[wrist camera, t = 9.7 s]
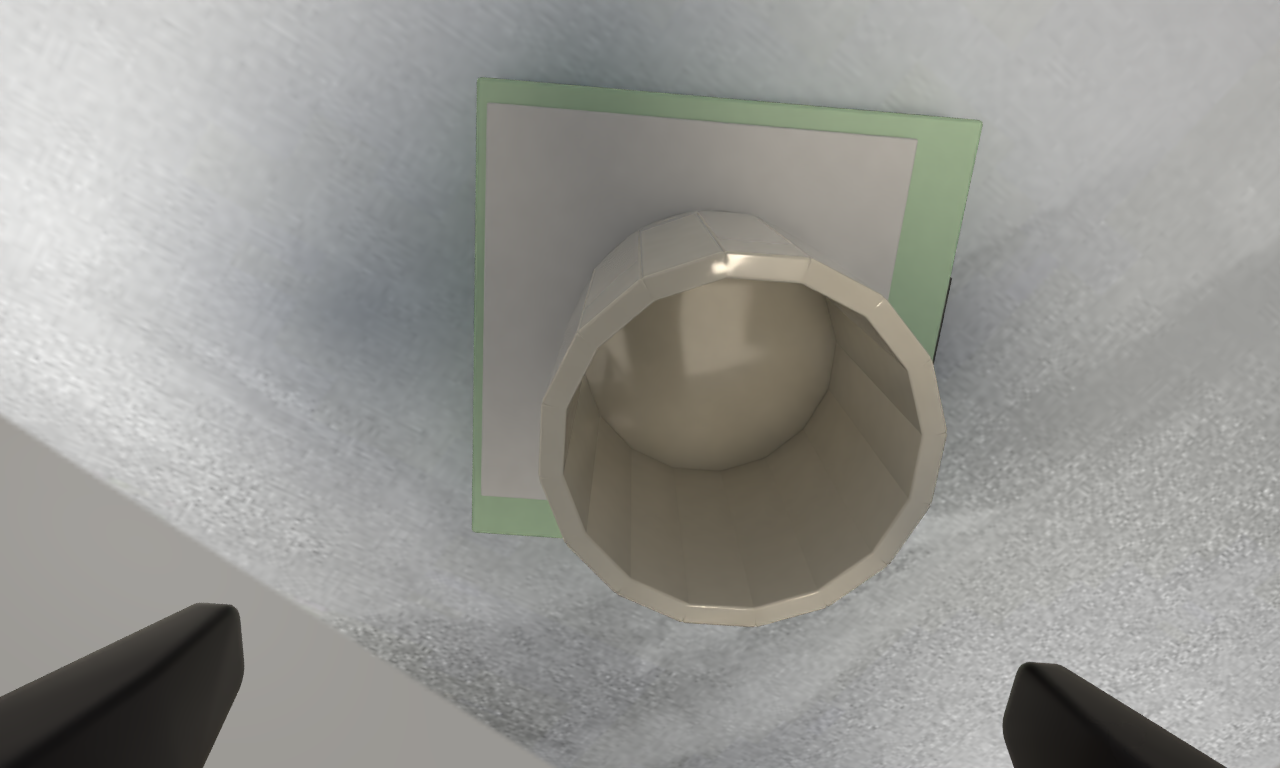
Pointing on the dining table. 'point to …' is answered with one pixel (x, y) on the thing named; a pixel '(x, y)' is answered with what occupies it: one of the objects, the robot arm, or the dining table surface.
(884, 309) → the ramekin
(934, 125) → the scale
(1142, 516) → the dining table surface
